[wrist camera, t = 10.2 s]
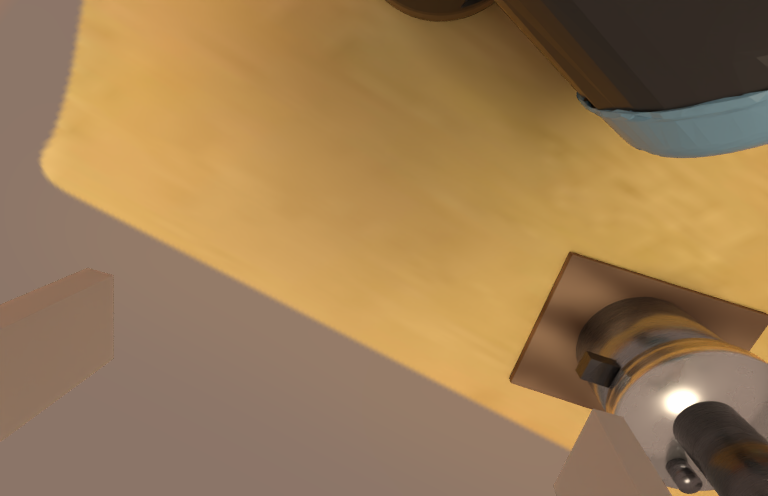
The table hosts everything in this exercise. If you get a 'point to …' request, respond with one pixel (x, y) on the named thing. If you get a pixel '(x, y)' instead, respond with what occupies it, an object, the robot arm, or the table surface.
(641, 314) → the cooker pot
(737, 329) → the walnut board
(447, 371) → the table surface
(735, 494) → the lid
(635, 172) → the table surface
